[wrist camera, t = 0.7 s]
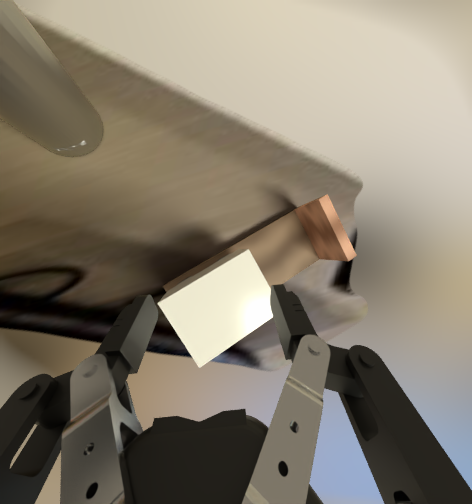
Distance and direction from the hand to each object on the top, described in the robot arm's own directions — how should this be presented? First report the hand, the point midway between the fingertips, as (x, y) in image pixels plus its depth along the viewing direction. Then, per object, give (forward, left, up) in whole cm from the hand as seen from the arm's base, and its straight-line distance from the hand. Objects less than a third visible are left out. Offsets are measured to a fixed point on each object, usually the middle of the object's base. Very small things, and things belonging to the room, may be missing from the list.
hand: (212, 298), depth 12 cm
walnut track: (+3, +8, -18) cm, 20 cm away
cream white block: (+4, +1, -17) cm, 17 cm away
